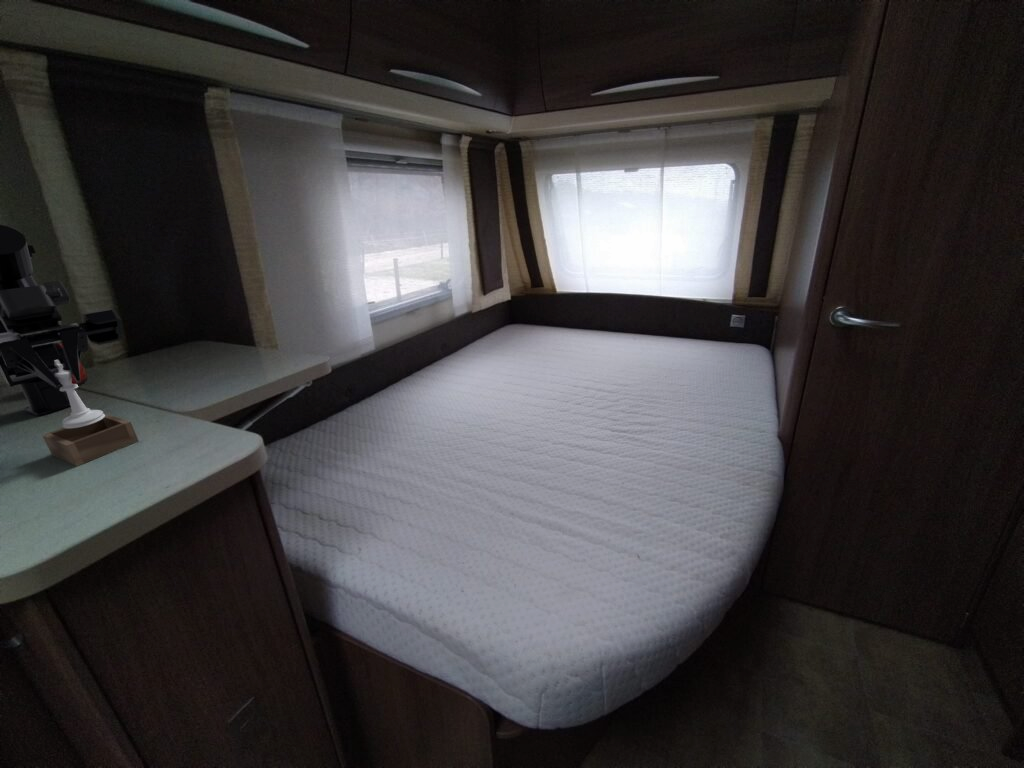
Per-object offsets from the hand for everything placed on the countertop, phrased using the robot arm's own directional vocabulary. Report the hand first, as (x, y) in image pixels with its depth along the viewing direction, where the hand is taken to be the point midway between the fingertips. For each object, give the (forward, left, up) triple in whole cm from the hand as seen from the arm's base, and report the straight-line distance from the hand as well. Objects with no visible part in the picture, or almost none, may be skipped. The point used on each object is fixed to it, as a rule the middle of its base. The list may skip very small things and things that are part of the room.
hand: (68, 383), depth 66 cm
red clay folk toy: (-42, +12, -12) cm, 45 cm away
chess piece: (-1, 0, -7) cm, 7 cm away
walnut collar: (-1, 0, -11) cm, 11 cm away
